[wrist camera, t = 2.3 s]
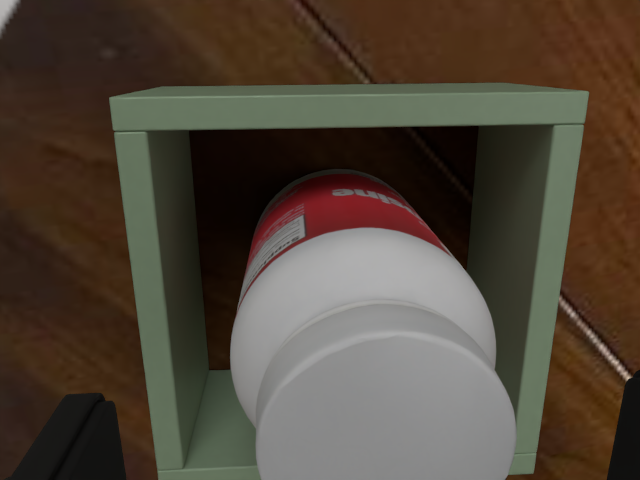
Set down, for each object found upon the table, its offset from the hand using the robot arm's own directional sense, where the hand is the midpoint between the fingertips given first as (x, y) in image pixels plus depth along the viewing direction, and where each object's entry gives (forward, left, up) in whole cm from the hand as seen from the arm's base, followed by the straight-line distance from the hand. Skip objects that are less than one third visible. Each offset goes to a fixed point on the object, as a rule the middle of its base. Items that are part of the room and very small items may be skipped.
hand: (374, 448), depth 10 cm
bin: (0, 0, -11) cm, 11 cm away
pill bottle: (0, 0, -11) cm, 11 cm away
